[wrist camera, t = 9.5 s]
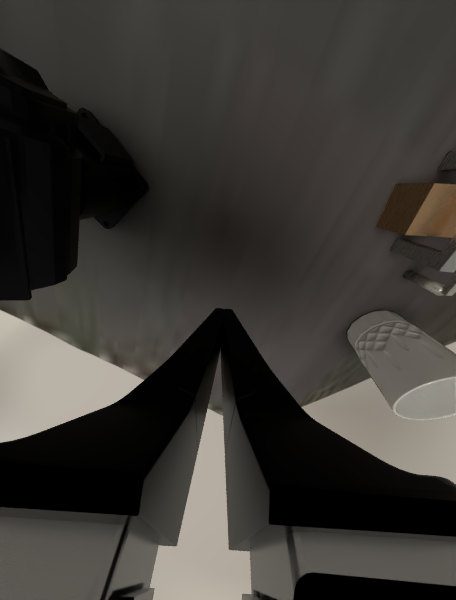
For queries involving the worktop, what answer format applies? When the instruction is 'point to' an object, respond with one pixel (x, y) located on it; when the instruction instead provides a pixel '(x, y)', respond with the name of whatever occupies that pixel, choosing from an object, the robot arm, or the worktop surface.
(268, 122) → the worktop surface
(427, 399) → the white cup
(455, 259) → the gray bracket rail
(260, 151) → the worktop surface
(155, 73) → the worktop surface
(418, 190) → the taped cardboard box
